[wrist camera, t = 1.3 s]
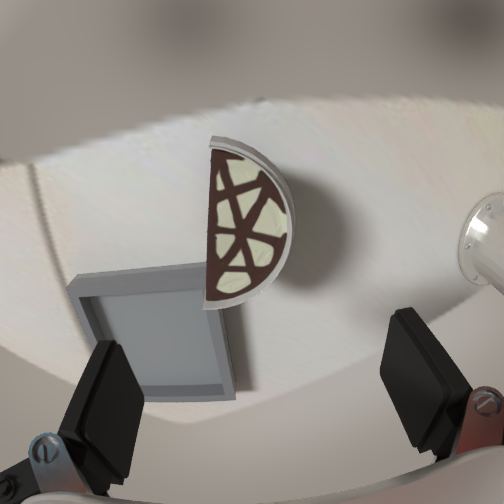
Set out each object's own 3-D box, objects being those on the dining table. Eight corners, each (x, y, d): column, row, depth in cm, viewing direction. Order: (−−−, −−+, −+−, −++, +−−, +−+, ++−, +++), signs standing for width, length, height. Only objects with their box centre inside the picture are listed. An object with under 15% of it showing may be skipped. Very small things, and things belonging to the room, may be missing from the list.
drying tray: (213, 261, 32) (211, 275, 29) (235, 383, 39) (235, 400, 36) (77, 274, 32) (65, 287, 29) (124, 385, 39) (119, 400, 36)
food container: (273, 260, 32) (287, 319, 23) (211, 256, 31) (202, 315, 22) (287, 136, 27) (313, 147, 18) (219, 130, 26) (209, 137, 17)
